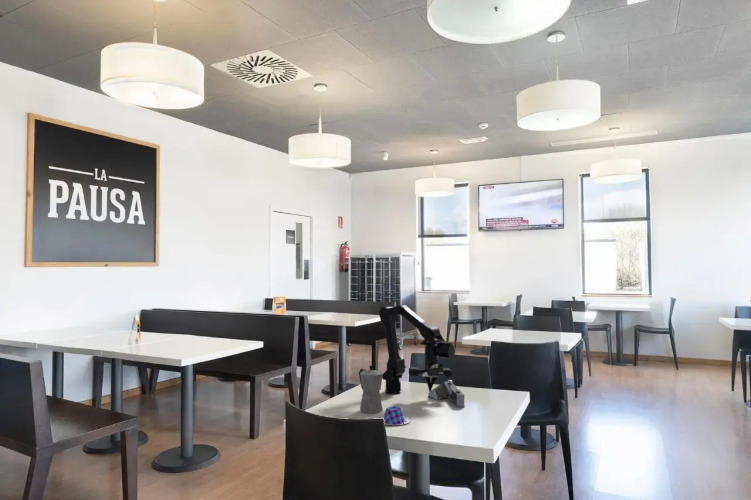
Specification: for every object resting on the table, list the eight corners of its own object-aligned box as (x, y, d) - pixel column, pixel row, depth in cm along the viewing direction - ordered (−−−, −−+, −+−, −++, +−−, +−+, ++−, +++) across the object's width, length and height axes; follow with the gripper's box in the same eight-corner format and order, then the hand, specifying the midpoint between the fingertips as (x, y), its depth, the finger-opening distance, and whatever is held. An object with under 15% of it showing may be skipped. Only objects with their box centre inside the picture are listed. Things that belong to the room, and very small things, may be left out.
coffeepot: (390, 412, 197) (390, 366, 198) (370, 416, 192) (370, 369, 193) (369, 404, 210) (369, 361, 211) (349, 407, 205) (350, 363, 206)
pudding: (388, 416, 194) (388, 402, 194) (415, 420, 187) (415, 406, 188) (371, 423, 184) (371, 409, 184) (399, 429, 177) (399, 414, 178)
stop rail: (457, 407, 205) (457, 391, 206) (444, 392, 231) (444, 378, 232) (464, 407, 206) (464, 390, 206) (451, 392, 232) (450, 378, 232)
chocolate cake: (422, 395, 227) (426, 381, 219) (435, 389, 230) (440, 375, 222) (434, 413, 222) (439, 398, 213) (447, 406, 224) (452, 392, 216)
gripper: (412, 358, 211) (410, 395, 211) (456, 359, 212) (454, 397, 211) (409, 354, 223) (407, 389, 222) (450, 355, 223) (449, 390, 223)
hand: (429, 391), depth 219 cm, fingers closed
